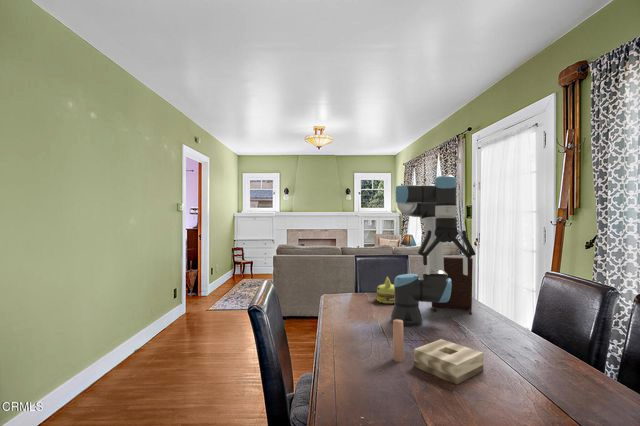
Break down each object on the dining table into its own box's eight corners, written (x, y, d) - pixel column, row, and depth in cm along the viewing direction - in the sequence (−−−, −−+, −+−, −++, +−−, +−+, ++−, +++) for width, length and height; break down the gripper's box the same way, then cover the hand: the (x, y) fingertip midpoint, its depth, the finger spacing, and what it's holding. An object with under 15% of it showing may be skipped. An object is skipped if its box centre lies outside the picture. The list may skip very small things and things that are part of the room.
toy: (375, 298, 216) (375, 275, 216) (399, 299, 214) (399, 275, 215) (376, 304, 201) (376, 279, 201) (403, 305, 199) (403, 279, 199)
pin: (391, 359, 123) (390, 320, 123) (397, 356, 125) (397, 318, 125) (398, 362, 120) (398, 323, 120) (405, 360, 122) (405, 321, 122)
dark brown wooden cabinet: (471, 310, 188) (470, 256, 189) (473, 315, 178) (472, 258, 179) (431, 307, 195) (431, 255, 196) (431, 311, 185) (431, 257, 186)
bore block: (414, 366, 117) (414, 349, 117) (441, 355, 126) (441, 339, 126) (456, 384, 104) (456, 365, 104) (483, 370, 113) (483, 352, 114)
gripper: (413, 217, 124) (413, 275, 123) (484, 217, 121) (485, 276, 121) (410, 217, 131) (410, 272, 131) (477, 217, 129) (477, 273, 128)
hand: (446, 274), depth 126 cm, fingers open, 13 cm apart
